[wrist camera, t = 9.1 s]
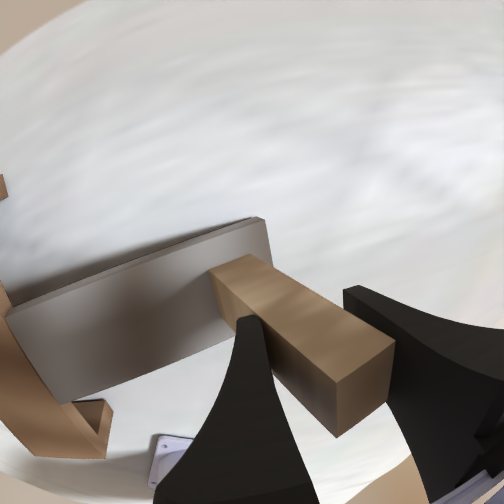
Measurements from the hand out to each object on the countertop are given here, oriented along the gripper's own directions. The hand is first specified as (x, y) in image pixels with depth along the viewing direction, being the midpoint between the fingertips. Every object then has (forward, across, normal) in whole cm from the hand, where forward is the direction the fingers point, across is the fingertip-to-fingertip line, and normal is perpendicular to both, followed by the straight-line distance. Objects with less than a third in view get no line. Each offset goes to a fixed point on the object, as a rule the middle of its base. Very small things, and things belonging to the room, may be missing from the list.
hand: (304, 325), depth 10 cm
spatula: (+4, +6, 0) cm, 7 cm away
